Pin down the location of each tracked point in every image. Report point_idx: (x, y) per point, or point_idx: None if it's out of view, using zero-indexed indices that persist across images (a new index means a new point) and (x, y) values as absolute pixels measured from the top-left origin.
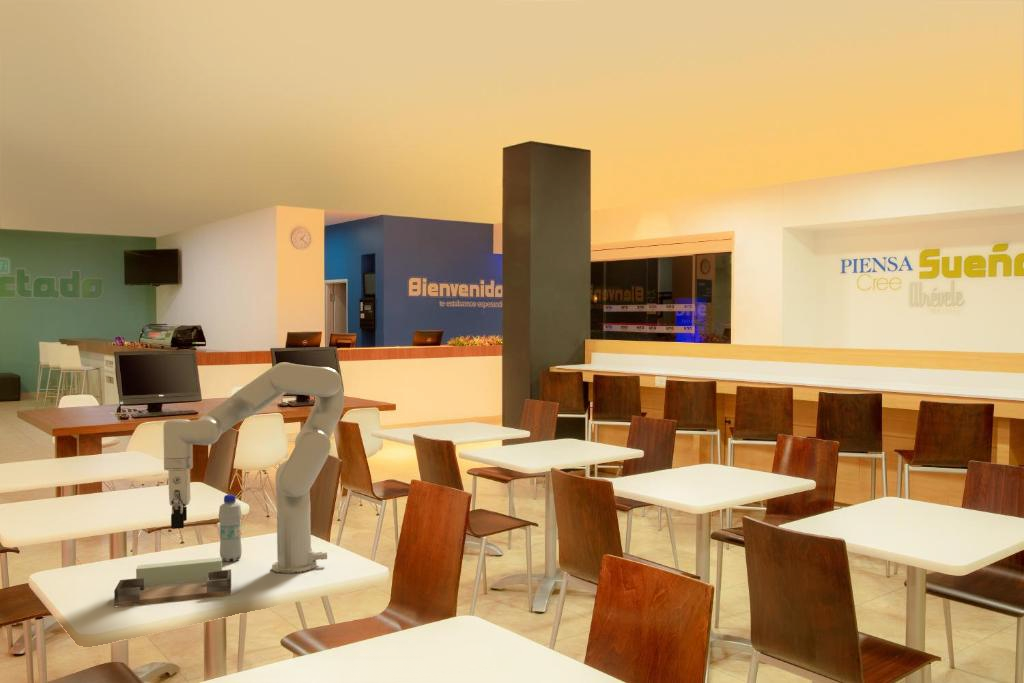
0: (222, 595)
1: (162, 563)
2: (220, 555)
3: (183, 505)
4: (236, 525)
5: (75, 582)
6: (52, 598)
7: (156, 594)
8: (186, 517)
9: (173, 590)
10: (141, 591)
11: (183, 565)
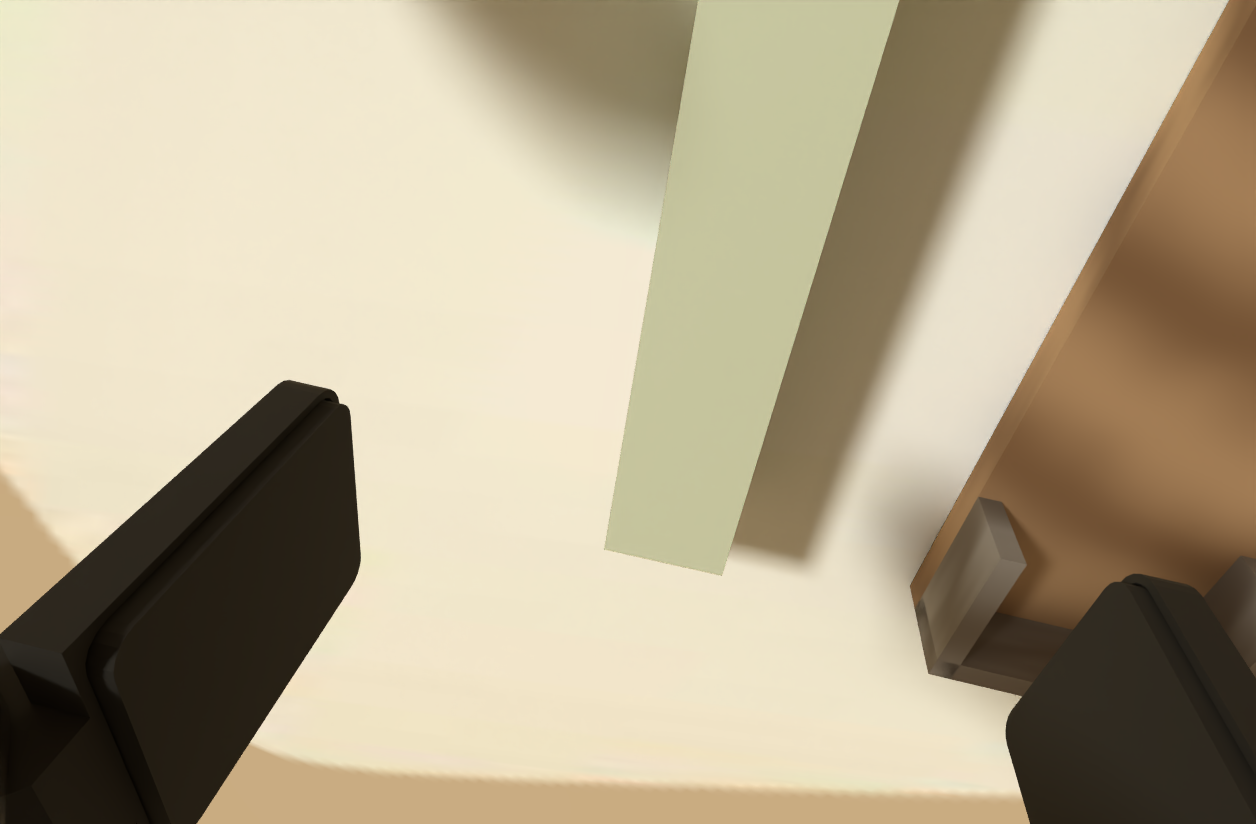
0: None
1: (650, 396)
2: None
3: (8, 751)
4: None
5: (463, 687)
6: (714, 780)
7: (1234, 455)
8: (294, 422)
9: (1243, 330)
10: (1035, 521)
11: (829, 224)
